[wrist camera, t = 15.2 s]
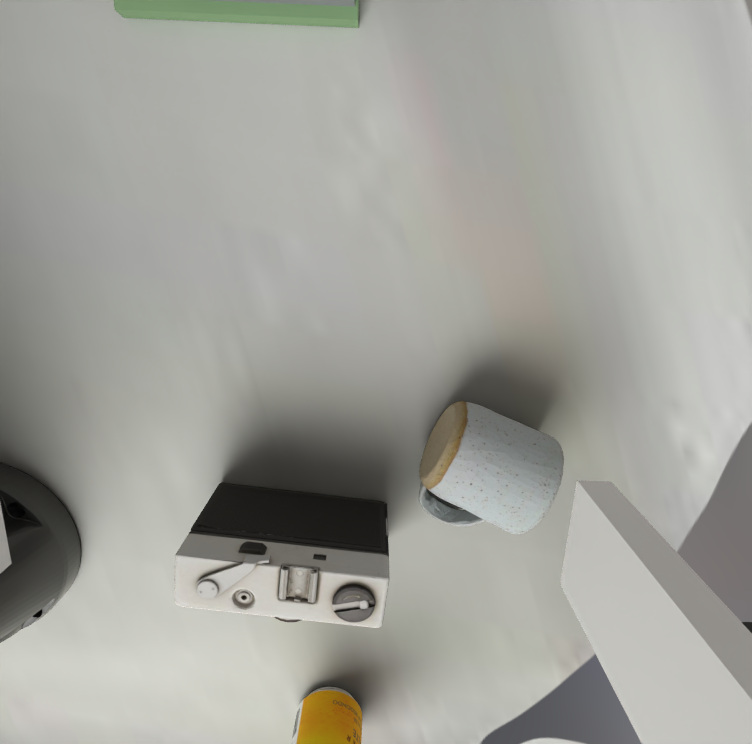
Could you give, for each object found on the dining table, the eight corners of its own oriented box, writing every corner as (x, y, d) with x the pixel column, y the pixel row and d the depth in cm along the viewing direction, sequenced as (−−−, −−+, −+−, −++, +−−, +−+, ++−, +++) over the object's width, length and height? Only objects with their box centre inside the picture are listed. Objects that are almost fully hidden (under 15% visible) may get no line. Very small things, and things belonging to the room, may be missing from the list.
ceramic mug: (451, 381, 38) (467, 419, 31) (544, 422, 39) (582, 468, 32) (394, 493, 41) (396, 551, 34) (482, 528, 42) (503, 593, 35)
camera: (215, 563, 43) (167, 659, 33) (219, 477, 41) (169, 553, 31) (375, 581, 43) (374, 681, 34) (388, 498, 41) (391, 579, 32)
